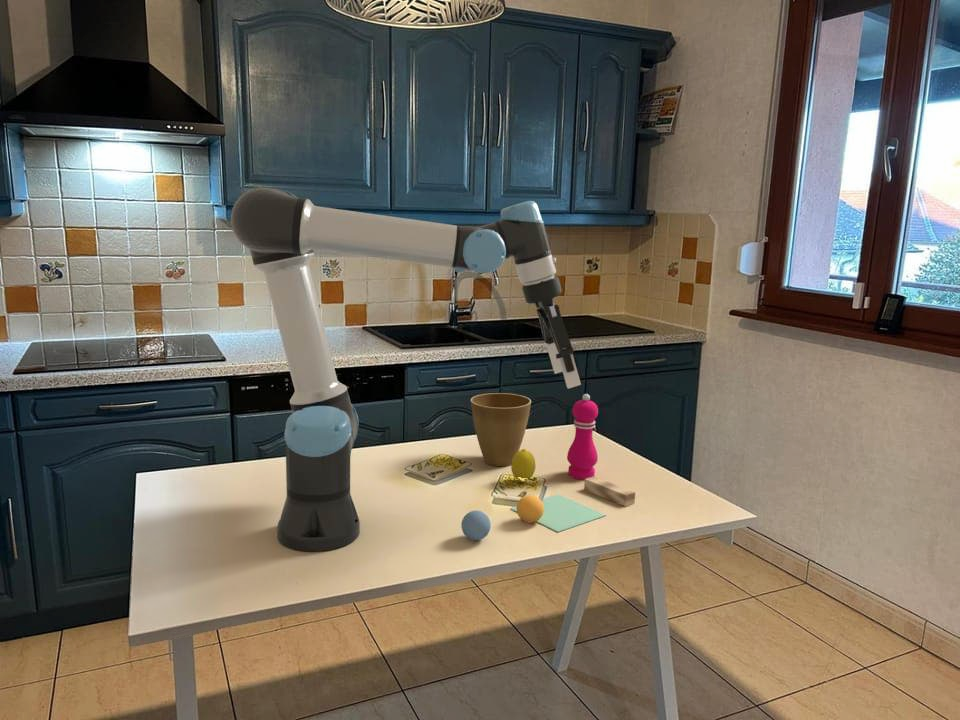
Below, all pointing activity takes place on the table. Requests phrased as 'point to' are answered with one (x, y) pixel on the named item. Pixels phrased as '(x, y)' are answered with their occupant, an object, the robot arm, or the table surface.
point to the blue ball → (475, 525)
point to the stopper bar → (609, 491)
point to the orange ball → (530, 508)
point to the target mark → (565, 513)
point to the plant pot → (500, 425)
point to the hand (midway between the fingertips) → (567, 378)
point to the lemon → (523, 464)
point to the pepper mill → (583, 440)
